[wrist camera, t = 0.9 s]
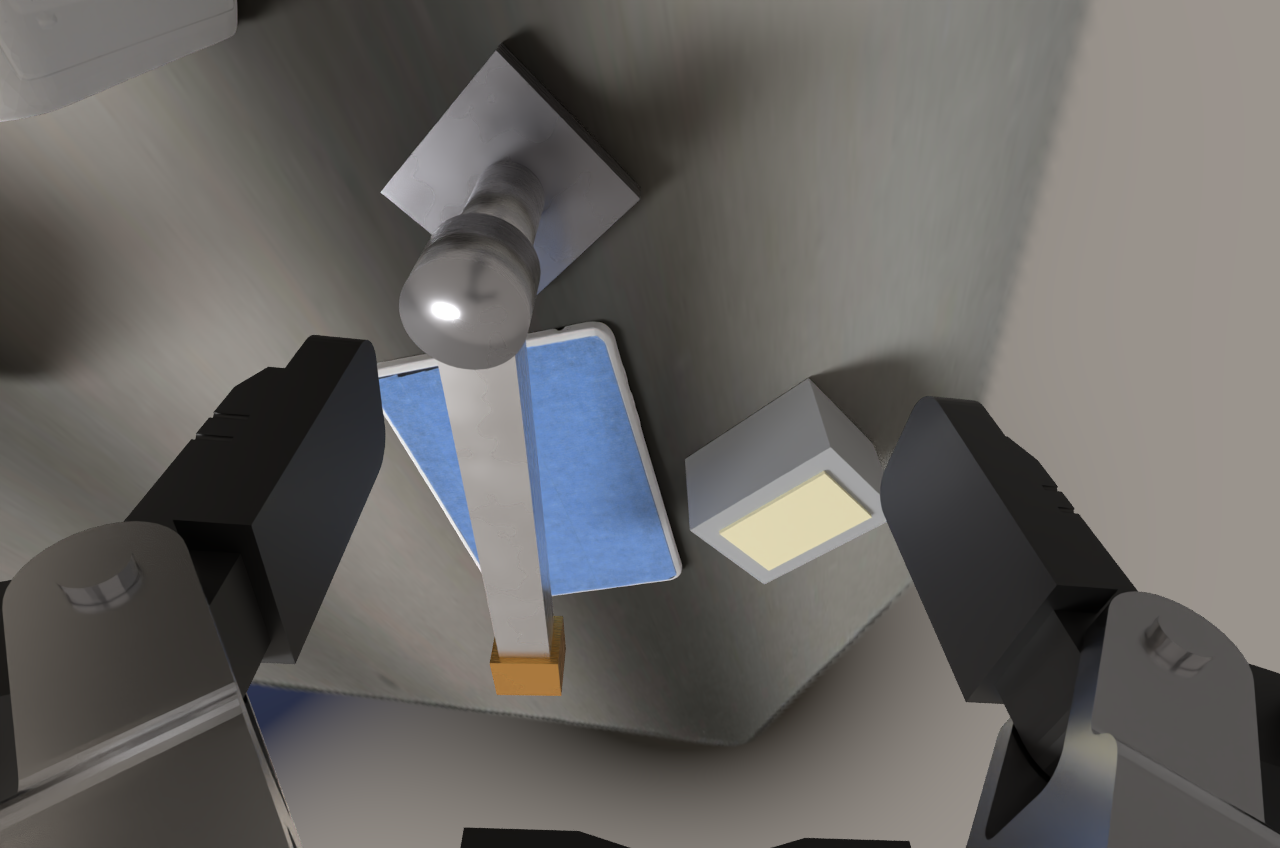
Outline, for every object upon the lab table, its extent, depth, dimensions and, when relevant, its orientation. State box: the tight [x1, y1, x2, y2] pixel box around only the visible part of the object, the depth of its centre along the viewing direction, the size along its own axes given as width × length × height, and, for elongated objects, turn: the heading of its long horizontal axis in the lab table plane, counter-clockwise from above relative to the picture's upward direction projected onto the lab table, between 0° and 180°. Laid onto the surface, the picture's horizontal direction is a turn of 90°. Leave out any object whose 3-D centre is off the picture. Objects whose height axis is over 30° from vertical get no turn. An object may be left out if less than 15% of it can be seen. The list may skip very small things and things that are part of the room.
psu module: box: [685, 378, 887, 584], centre depth 34 cm, size 8×6×5 cm
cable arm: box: [399, 213, 566, 696], centre depth 27 cm, size 24×4×3 cm, turn 178°
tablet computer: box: [377, 321, 682, 596], centre depth 37 cm, size 19×13×1 cm, turn 13°
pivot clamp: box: [381, 43, 640, 294], centre depth 24 cm, size 7×7×7 cm
